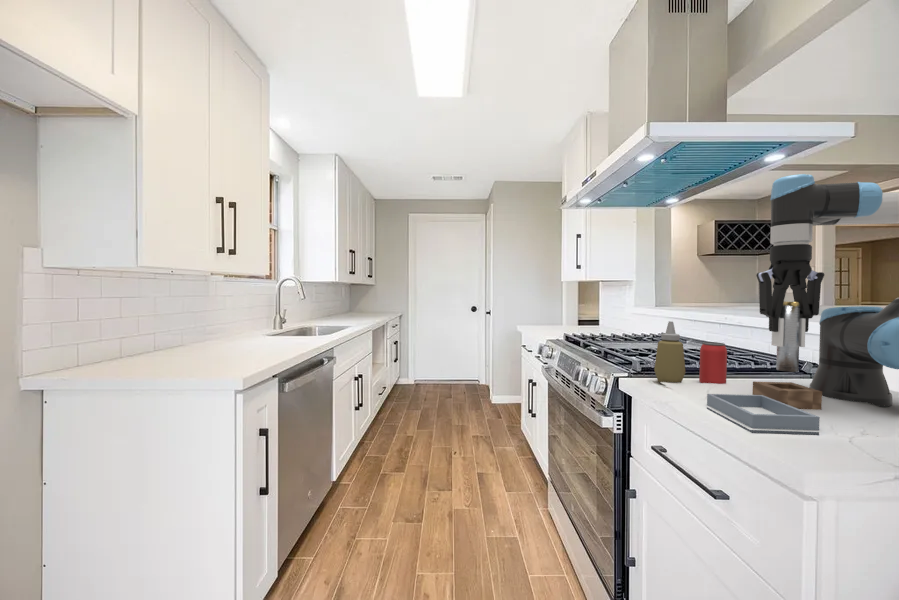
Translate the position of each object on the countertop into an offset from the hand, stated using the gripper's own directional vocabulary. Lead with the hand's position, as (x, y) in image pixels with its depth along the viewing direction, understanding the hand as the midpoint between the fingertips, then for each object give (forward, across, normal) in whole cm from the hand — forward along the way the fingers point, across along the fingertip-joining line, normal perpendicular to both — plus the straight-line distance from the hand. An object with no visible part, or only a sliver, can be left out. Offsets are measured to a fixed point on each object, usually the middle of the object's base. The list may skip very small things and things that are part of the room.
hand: (787, 345), depth 97 cm
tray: (+14, +13, +11) cm, 22 cm away
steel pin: (+6, 0, 0) cm, 6 cm away
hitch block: (+14, 0, 0) cm, 14 cm away
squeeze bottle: (+15, +16, -23) cm, 32 cm away
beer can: (+15, +4, -23) cm, 28 cm away
